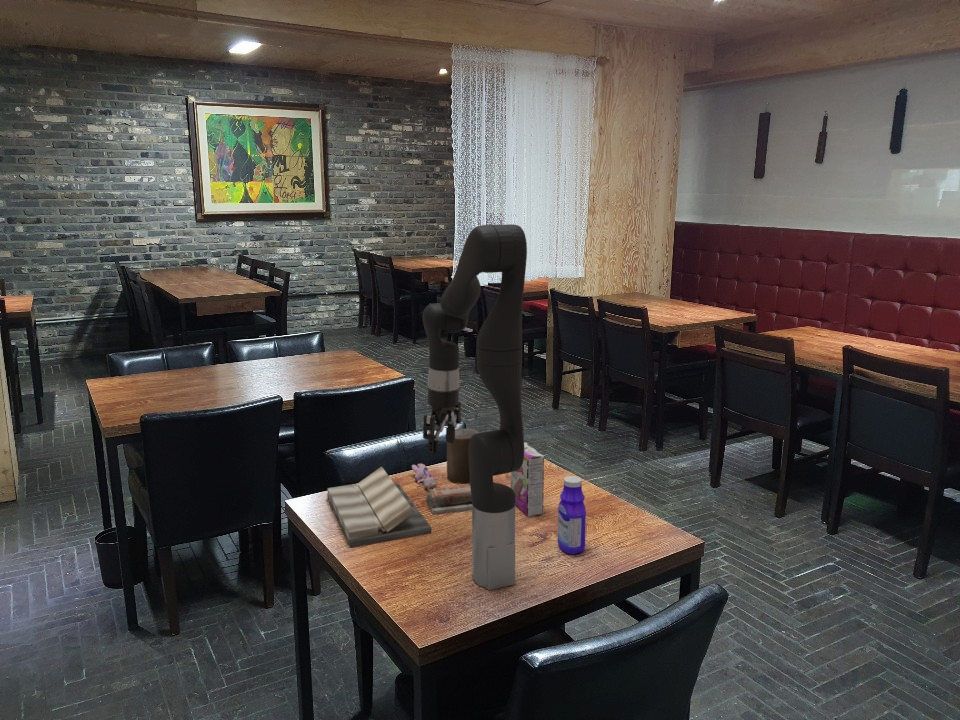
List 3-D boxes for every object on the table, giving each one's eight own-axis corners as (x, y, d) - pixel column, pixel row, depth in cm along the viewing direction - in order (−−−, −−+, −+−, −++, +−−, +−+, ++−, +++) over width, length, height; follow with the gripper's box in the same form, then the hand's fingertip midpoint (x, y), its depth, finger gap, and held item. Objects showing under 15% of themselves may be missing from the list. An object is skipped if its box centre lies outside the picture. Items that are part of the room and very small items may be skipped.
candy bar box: (509, 500, 190) (509, 444, 186) (525, 498, 191) (526, 441, 188) (526, 517, 180) (527, 458, 176) (544, 514, 181) (545, 455, 178)
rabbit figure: (443, 494, 198) (425, 468, 210) (444, 475, 195) (425, 450, 208) (422, 497, 195) (405, 471, 208) (423, 479, 193) (405, 453, 206)
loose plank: (414, 512, 170) (410, 506, 169) (384, 534, 168) (380, 528, 167) (385, 471, 195) (381, 466, 194) (359, 490, 193) (355, 485, 192)
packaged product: (432, 499, 180) (425, 484, 190) (432, 516, 181) (425, 501, 191) (498, 491, 185) (488, 477, 194) (498, 508, 186) (488, 494, 195)
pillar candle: (475, 485, 200) (475, 435, 197) (442, 481, 202) (442, 432, 199) (482, 472, 209) (483, 425, 206) (451, 470, 212) (451, 422, 208)
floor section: (431, 532, 172) (430, 519, 171) (350, 547, 164) (349, 534, 163) (397, 487, 199) (397, 476, 198) (327, 498, 191) (326, 486, 190)
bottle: (553, 543, 166) (554, 475, 162) (574, 539, 168) (576, 471, 164) (567, 557, 160) (569, 486, 156) (589, 553, 161) (591, 483, 158)
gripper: (442, 395, 159) (440, 461, 163) (471, 380, 171) (468, 441, 176) (414, 390, 162) (413, 454, 167) (444, 375, 174) (443, 435, 179)
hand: (441, 447), depth 171 cm, fingers open, 8 cm apart
